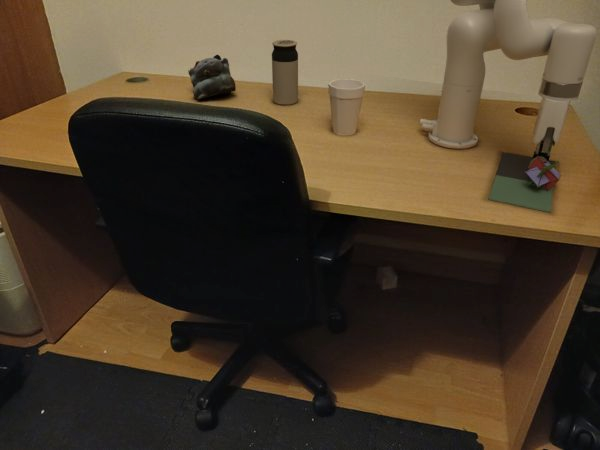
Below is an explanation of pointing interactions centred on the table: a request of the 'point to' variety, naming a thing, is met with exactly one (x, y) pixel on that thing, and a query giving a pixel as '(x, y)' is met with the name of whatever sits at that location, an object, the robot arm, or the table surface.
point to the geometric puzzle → (543, 173)
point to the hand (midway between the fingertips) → (537, 169)
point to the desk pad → (519, 185)
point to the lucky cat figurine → (211, 77)
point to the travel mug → (285, 72)
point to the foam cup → (345, 104)
